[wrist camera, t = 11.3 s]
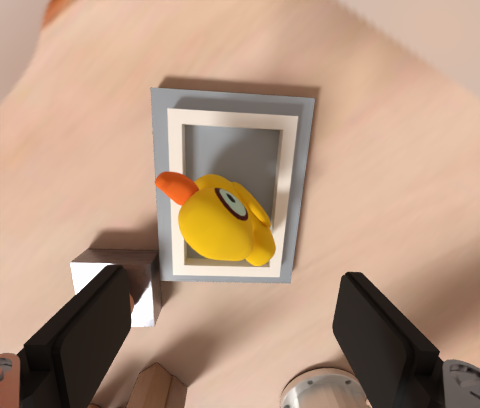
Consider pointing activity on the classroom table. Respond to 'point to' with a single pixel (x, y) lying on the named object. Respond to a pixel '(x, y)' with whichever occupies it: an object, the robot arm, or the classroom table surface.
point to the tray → (231, 171)
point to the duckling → (220, 218)
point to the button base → (139, 277)
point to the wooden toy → (156, 390)
